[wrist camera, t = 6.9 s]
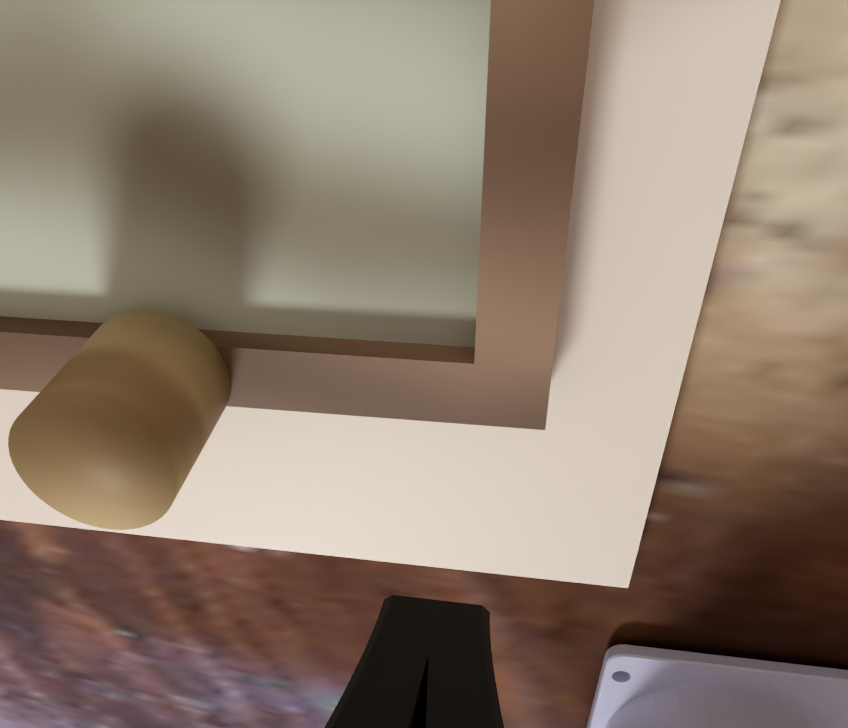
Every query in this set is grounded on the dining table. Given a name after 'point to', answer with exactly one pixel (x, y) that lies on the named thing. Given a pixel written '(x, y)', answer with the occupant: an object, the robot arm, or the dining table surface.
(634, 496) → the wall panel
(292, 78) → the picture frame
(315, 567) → the dining table surface
